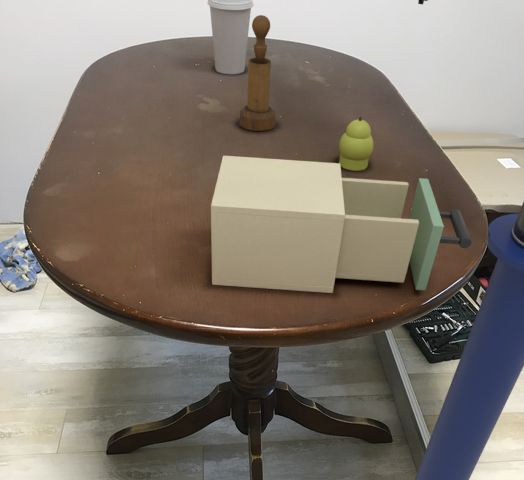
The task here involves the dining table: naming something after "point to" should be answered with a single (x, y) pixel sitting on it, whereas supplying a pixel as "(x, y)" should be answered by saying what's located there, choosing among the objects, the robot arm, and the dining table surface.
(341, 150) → the pear
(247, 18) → the coffee cup
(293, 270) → the cabinet
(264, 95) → the mortar and pestle
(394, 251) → the drawer
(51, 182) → the dining table surface
